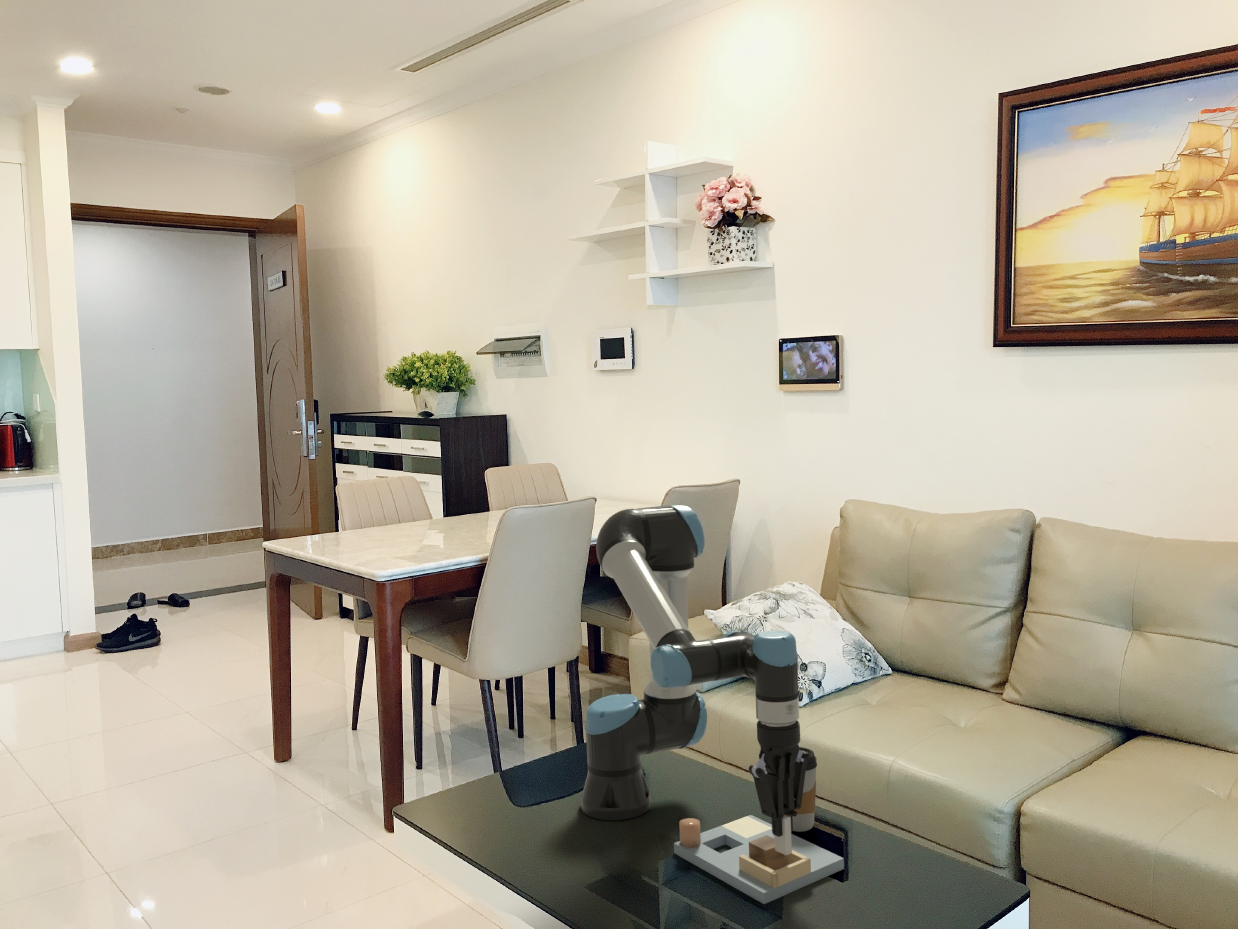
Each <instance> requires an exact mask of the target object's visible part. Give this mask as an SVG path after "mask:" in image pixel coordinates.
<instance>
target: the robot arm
mask: <svg viewBox="0 0 1238 929" xmlns="http://www.w3.org/2000/svg"><path fill="white" fill-rule="evenodd" d="M705 540H706V538H705V532H704V528H703V524H702V523H701V520H700V519H699V517H698V515H697V513H696V512H695V511H694V510H693V509H692V508H691V507H689V506H687V505H680V504H679V505H677V504H667V505H659V506H650V507H639V508H626V509H625V508H624V509H623V510H619V511H618V512H615V513H614V514H612V515H611V516H610V517H608V519H606V521H605V522H604V523H603V524H602V526H601V527H600V529H599V533H598V535H597V538H596V544H595V549H596V557H597V560H598V563H599V565H600V568H601V569H602V571H603V573H604V574H605V575H606V576H608V577H609V578H611V579H613V580H614V582H615V584H616V585H617V587H618V589H619V590H620V592H621V593H622V594H621V595H622V596H623V597H624V599H625V601H626V602H627V605H628V606H629V608H630V610H631V612H632V613H633V615H634V617H635V619H636V620H637V622H638V623H639V626H640V627H641V629H642V631H643V633H644V634H645V636H646V637H647V639H648V642H649V672H650V673H649V675H650V677H649V678H650V679H649V682H647V684H646V685H645V686H644V687H643V699H639V698H638V697H637V696H636V695H634V694H631V693H622V694H619V693H617V694H616V693H615V694H610V695H607V696H603V697H600V698H599V699H596V700H595V701H593V702H592V703H591V704H590V705H589V706H588V707H587V709H586V712H585V725H584V730H585V737H586V739H585V740H586V756H587V757H586V759H587V775H586V779H585V782H584V786H583V790H582V794H581V798H580V803H581V804H580V805H581V810H582V812H583V814H585V815H586V816H588V817H589V818H594V819H597V820H603V821H623V820H629V819H632V818H633V819H634V818H637V817H640V816H642V815H644V814H645V813H646V812H648V811H649V810H650V809H651V806H652V801H651V792H650V789H649V786H648V784H647V781H646V779H645V776H644V773H643V770H642V756H644V755H651V754H656V753H662V752H667V751H673V750H682V749H686V748H687V747H690V746H694V745H696V744H698V743H699V742H700V741H701V740H702V739H703V738H704V736H705V733H706V730H707V726H708V724H707V723H708V711H707V708H706V707H705V706H706V701H705V700H704V697H703V696H702V694H701V693H700V692H698V691H697V688H696V685H698V684H702V683H709V682H714V681H715V682H717V681H722V680H728V679H735V678H742V677H745V678H746V677H747V678H748V679H751V680H752V681H753V680H754V686H755V687H754V689H755V715H756V719H757V722H756V734H757V735H756V740H757V742H758V745H759V746H760V749H759V750H760V751H759V752H758V753H759V754H758V759H759V760H758V761H757V762H756V763H755V765H753V764H751V765H749V767H748V771H749V773H750V774H751V776H752V778H753V781H754V785H755V789H756V793H757V794H756V795H757V797H758V801H759V806H760V809H761V810H760V811H761V813H762V815H764V816H766V817H769V818H771V825H772V833H773V835H774V837H775V850H776V851H778V852H780V853H782V854H784V855H788V854H791V853H792V843H791V834H792V832H794V831H793V816H794V817H795V816H796V815H797V812H795V810H796V809H800V808H801V804H802V796H803V788H804V780H805V772H806V766H807V763H808V761H809V758H810V754H809V753H806V752H803V751H801V750H799V747H800V746H799V744H800V742H801V724H800V722H799V719H800V703H799V702H800V701H799V700H800V699H799V669H798V668H799V665H798V664H799V661H798V660H799V654H798V651H797V641H796V637H795V636H794V635H793V634H792V633H791V632H789V631H785V630H784V631H782V630H763V631H760V632H757V633H756V634H755V635H754V634H752V633H751V632H747V631H745V630H744V631H742V630H741V631H740V630H731V631H728V632H726V633H725V634H723V635H722V636H721V637H717V638H716V637H715V638H711V639H709V638H708V639H701V640H697V639H695V636H693V634H692V633H691V631H690V629H689V600H688V599H689V594H688V592H689V591H688V588H689V587H688V575H689V574H690V572H692V571H693V570H694V569H695V558H698V557H700V556H702V554H703V553H704V549H705ZM794 799H795V800H794Z"/></svg>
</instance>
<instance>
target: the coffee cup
mask: <svg viewBox="0 0 1238 929" xmlns="http://www.w3.org/2000/svg"><path fill="white" fill-rule="evenodd" d="M799 750H801V751H803V752H806V753H809V754H810V758H809V761H808V763H807V766H806V772H805V780H804V788H803V796H802V804H801V808H800V809H796V810H795V812H797V815H796V816H795V817H794V816H793V831H792V832H807V831H809V830H811V829H813V827H814V825H815V812H816V799H817V798H816V796H817V795H816V792H817V788H816V787H817V766H818V762H817V757H816V756H815V752H814V751H813V750H812V749H810V748H807V747H803V746H802V747H801V746H799ZM794 800H795V799H794Z"/></svg>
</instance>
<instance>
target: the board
mask: <svg viewBox="0 0 1238 929" xmlns="http://www.w3.org/2000/svg"><path fill="white" fill-rule="evenodd" d="M700 833H701V844H700V845H699V846H697V847H692V848H689V847H684V846H682V845H681V844H680V840H679V841H676V842H674V843H673V854H675V855H677V856H679V857H680V858H682V859H683V860H686V861H687V862H689V863H691V864H692V865H694V866H697V867H698V868H700V869H701V870H703V871H705V872H707V873H709V874H710V875H712V876H714V877H716V879H719V880H721V881H722V882H724V883H725V884H727V885H730V886H731V887H733V888H735V889H736V890H738V891H740V892H741V893H744V894H745V895H747V896H749V897H751V898H752V899H754V900H755V901H758V902H760V903H761V904H762V905H766V904H769V903H770V902H772V901H775V900H777V899H779V898H781V897H784V896H787V895H789V894H790V893H793V892H795V891H797V890H799V889H801V888H804V887H806V886H809V885H812V884H813V883H815V882H817V881H820V880H822V879H825V878H826V877H829V876H832V875H833V874H836V873H837V872H841V871H842V870H844V869H845V868H844V867H845V861H844V860H845V859H844V857H842V856H840V855H838V854H836V853H834V852H831V851H829V850H827V849H825V848H822V847H820V846H818V845H816V844H814V843H812V842H810V841H808V840H806V839H804V838H801V837H799V836H797V835H795V834H793V833H791V843H792V853H791V854H788V855H785V867H783V868H780V869H778V870H776V871H774V870H772V869H770V868H768V867H766V866H764V865H763V864H761V863H759V862H757V861H755V860H753V859H751V858H749V842H750V841H753V840H755V839H758V838H760V837H763V836H765V835H768V836H770V837H772V838H774V839H775V837H774V835H773V833H772V823H769V822H767V821H764V820H763V819H761V818H759V817H756V816H754V815H752V814H749V815H746V816H743V817H741V818H739V819H735V820H733V821H730V822H728V823H725V824H722V825H719V826H716V827H714V828H711V829H708V830H706V831H703V832H700ZM725 845H726V846H728V847H729V848H731V849H727V850H725V851H722V852H718V851H717V850H715V849H718V848H719V847H722V846H725Z"/></svg>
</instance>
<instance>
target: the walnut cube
mask: <svg viewBox="0 0 1238 929" xmlns="http://www.w3.org/2000/svg"><path fill="white" fill-rule="evenodd" d="M749 858H751V859H753V860H755V861H757V862H759V863H761V864H763V865H764V866H766V867H768V868H770V869H772V870H774V871H776V870H778V869H780V868H783V867H785V855H784V854H782V853H780V852H778V851H776V850H775V839H774V838H772V837H770V836H768V835H765V836H763V837H760V838H758V839H755V840H753V841H750V842H749Z"/></svg>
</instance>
